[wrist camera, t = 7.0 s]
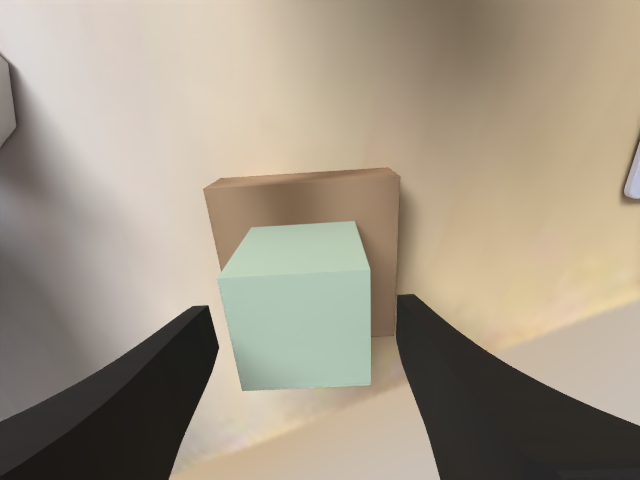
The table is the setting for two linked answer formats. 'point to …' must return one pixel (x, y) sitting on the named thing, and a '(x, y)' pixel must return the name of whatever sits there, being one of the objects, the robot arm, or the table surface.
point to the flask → (6, 103)
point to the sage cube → (299, 307)
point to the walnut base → (317, 218)
